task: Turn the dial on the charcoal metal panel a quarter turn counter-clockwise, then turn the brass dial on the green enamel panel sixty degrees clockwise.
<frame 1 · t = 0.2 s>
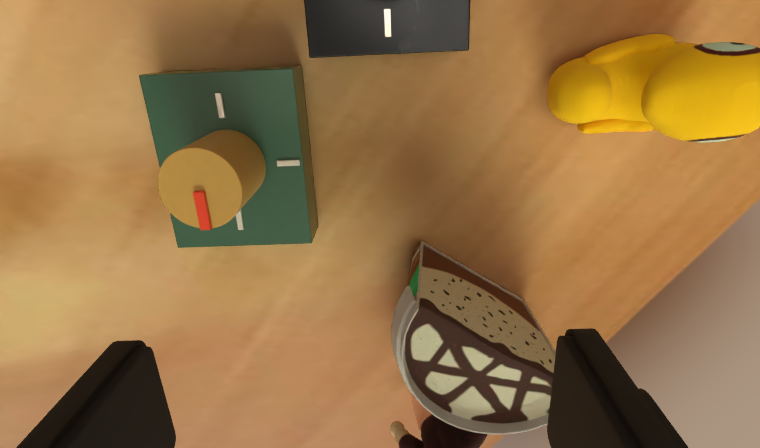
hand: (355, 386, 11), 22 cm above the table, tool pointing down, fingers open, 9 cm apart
food container: (449, 299, 36), on the table
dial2: (215, 177, 26), point 6 cm above the table, hinge at 0.0°
duckling: (617, 81, 29), on the table
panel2: (244, 153, 31), on the table
grandmother figurine: (436, 363, 38), on the table
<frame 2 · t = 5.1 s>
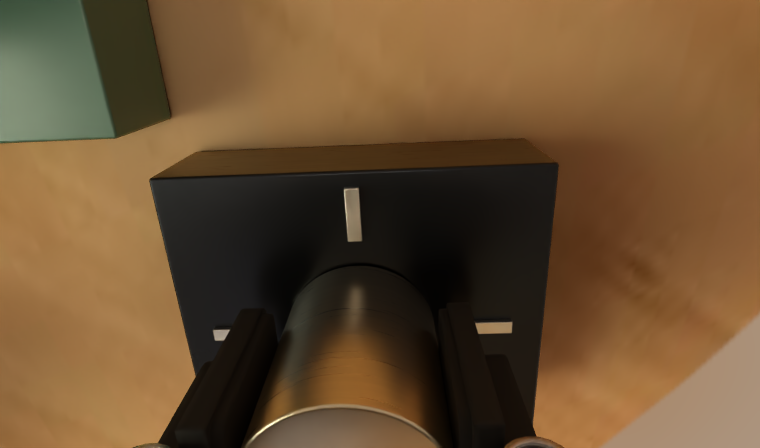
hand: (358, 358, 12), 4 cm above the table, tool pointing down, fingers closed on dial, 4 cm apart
dial: (354, 398, 10), point 6 cm above the table, hinge at -0.1°, touching gripper
panel: (366, 276, 16), on the table
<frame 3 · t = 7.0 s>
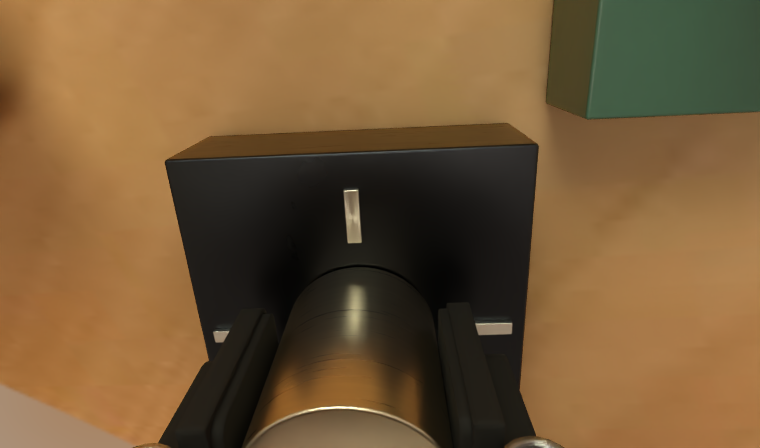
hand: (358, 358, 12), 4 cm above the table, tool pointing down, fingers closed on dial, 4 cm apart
dial: (354, 400, 10), point 6 cm above the table, hinge at 90.1°, touching gripper
panel: (366, 278, 16), on the table
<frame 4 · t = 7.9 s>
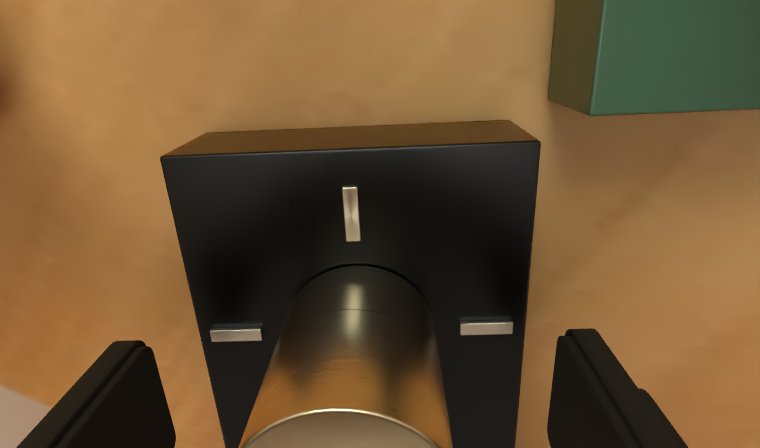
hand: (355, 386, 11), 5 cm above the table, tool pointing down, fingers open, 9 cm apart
dial: (353, 400, 10), point 6 cm above the table, hinge at 91.2°
panel: (365, 276, 15), on the table
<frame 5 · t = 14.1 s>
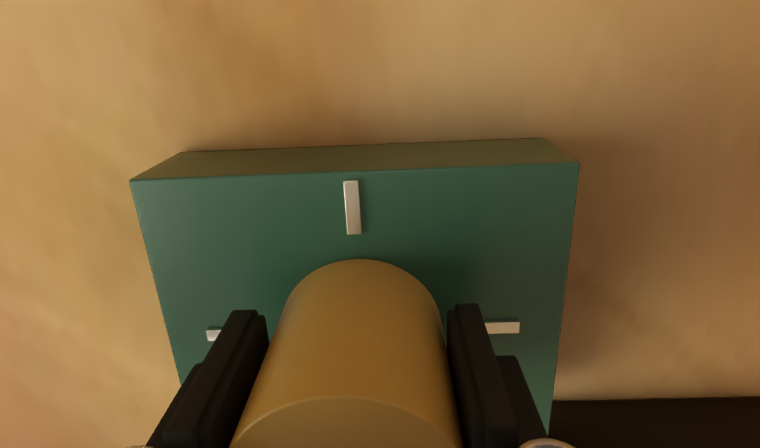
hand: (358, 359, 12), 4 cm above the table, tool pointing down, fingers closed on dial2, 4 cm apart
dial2: (354, 398, 10), point 6 cm above the table, hinge at 0.0°, touching gripper
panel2: (366, 276, 16), on the table
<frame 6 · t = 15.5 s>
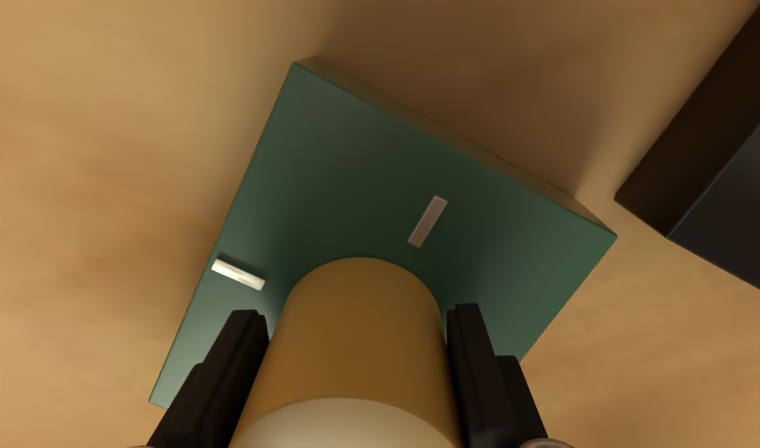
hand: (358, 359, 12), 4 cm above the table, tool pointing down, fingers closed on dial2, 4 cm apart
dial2: (354, 397, 10), point 6 cm above the table, hinge at -60.4°, touching gripper
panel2: (366, 275, 16), on the table
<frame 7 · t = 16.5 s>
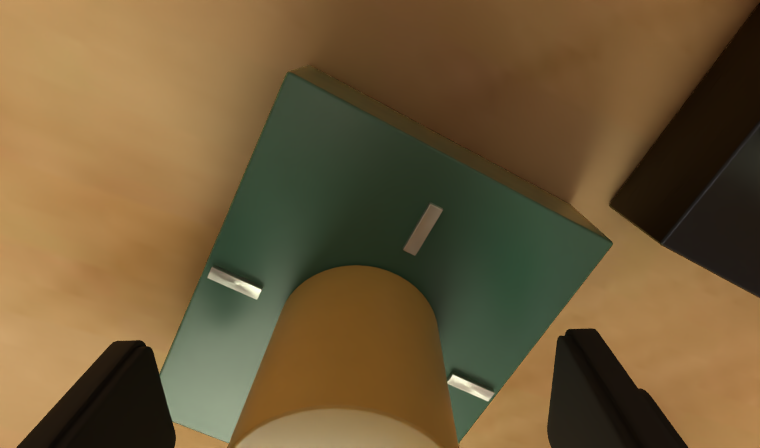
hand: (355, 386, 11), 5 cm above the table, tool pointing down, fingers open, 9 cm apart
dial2: (350, 406, 10), point 6 cm above the table, hinge at -62.6°
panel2: (363, 282, 16), on the table
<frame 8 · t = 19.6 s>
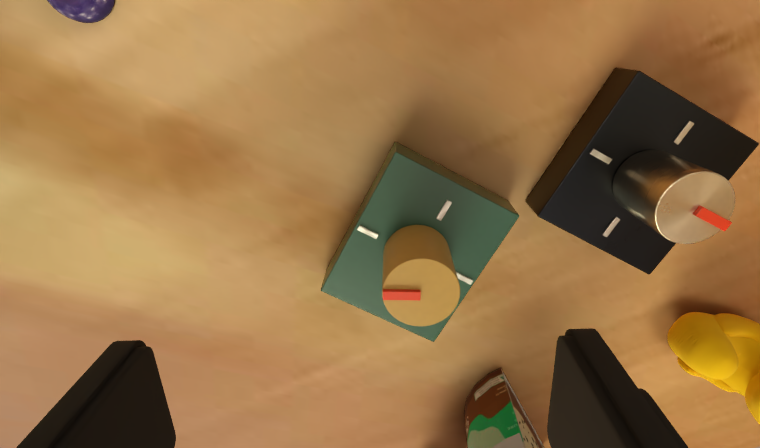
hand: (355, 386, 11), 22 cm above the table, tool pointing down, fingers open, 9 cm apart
food container: (488, 418, 40), on the table
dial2: (418, 274, 28), point 6 cm above the table, hinge at -62.6°
dial: (669, 194, 26), point 6 cm above the table, hinge at 91.2°
duckling: (709, 332, 36), on the table
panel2: (414, 236, 34), on the table
panel: (622, 168, 31), on the table
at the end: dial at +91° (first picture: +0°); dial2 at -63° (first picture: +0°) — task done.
